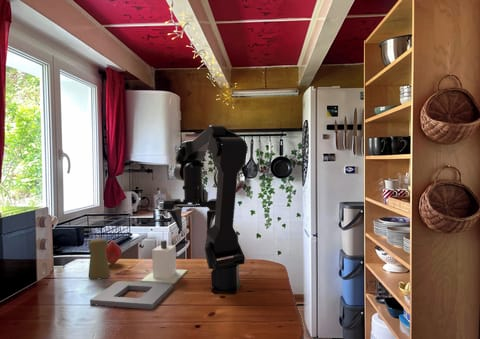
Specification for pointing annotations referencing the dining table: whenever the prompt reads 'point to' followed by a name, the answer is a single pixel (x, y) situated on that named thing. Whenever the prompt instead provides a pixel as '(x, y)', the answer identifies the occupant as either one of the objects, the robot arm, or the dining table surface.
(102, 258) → the olive green tapered block
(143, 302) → the gray rectangular frame
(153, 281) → the mat
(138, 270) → the dining table surface
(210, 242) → the robot arm
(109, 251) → the onion
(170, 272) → the plug
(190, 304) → the dining table surface
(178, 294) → the dining table surface
